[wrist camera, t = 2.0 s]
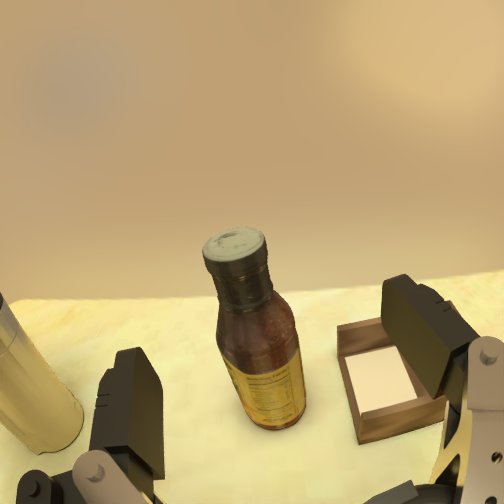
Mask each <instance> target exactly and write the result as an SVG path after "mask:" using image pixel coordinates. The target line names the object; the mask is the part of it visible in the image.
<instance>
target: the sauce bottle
mask: <svg viewBox="0 0 504 504" xmlns="http://www.w3.org/2000/svg"><path fill="white" fill-rule="evenodd" d="M202 253H203V258H204V261H205V266H206V268H207V270H208V272H209V273H210V274H211V275H212V277H213V280H214V284H215V287H216V290H217V293H218V296H217V298H218V300H219V312H218V321H217V330H216V341H217V345H218V348H219V350H220V353H221V355H222V358H223V360H224V362H225V365H226V367H227V369H228V372H229V374H230V377H231V379H232V382H233V384H234V386H235V389H236V391H237V393H238V395H239V398H240V400H241V402H242V405H243V407H244V409H245V411H246V413H247V414H248V416H249V417H250V419H251V420H253V421H254V422H255V423H256V424H258V425H259V426H262V427H264V428H266V429H281V428H286V427H288V426H290V425H293V424H294V423H296V421H297V420H298V419H299V418H300V417H301V415H302V413H303V411H304V409H305V406H306V399H305V398H306V390H305V382H304V374H303V367H302V360H301V352H300V345H299V339H298V334H297V331H296V328H295V320H294V316H293V313H292V310H291V308H290V306H289V305H288V303H287V302H286V301H285V300H284V299H283V298H282V297H281V296H280V295H279V294H278V293H277V292H276V291H275V290H273V284H272V281H271V280H270V275H269V270H268V265H267V256H268V251H267V244H266V241H265V237H264V235H263V233H262V232H260V231H258V230H256V229H254V228H250V227H237V228H232V229H227V230H225V231H222V232H220V233H218V234H216V235H215V236H213V237H211V238H210V239H209V240H208V241H207V242H205V244H204V246H203V249H202Z"/></svg>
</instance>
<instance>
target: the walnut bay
mask: <svg viewBox="0 0 504 504" xmlns="http://www.w3.org/2000/svg"><path fill="white" fill-rule="evenodd" d="M446 302H447V303H448V304H449V305H450V306H451V307H452V309H454V310H455V311H456V312H457V313H458V314H459V312H458V311H457V309H456V308H455V306H454V305H453V304H452V302H451V301H450V300H449V301H446ZM459 315H460V314H459ZM460 316H461V315H460ZM337 357H338V361H339V365H340V369H341V373H342V376H343V380H344V384H345V388H346V392H347V396H348V400H349V405H350V409H351V413H352V417H353V421H354V426H355V430H356V434H357V439H358V443H359V445H361V444H366V443H370V442H374V441H378V440H382V439H386V438H389V437H393V436H397V435H400V434H404V433H407V432H410V431H414V430H417V429H420V428H423V427H426V426H429V425H432V424H435V423H438V422H441V421H443V420H444V417H445V409H446V403H447V401H448V399H447V398H446V396H445V395H442V396H441V397H439V398H437V399H435V400H433V399H432V398H431V396H430V395H429V393H428V392H427V390H426V389H425V388H424V386H423V385H422V383H421V382H420V380H419V379H418V377H417V376H416V374H415V373H414V372H413V370H412V369H411V367H410V366H409V364H408V363H407V361H406V360H405V359H404V357H403V356H402V354H401V353H400V352H399V350H398V349H397V347H396V346H395V345H394V343H393V342H392V340H391V339H390V338H389V336H388V335H387V334H386V332H385V330H384V328H383V325H382V322H381V317H378V318H374V319H369V320H364V321H359V322H354V323H349V324H344V325H339V326H337Z"/></svg>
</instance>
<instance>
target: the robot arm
mask: <svg viewBox="0 0 504 504" xmlns="http://www.w3.org/2000/svg"><path fill="white" fill-rule="evenodd" d="M381 322H382V325H383V328H384V330H385V332H386V334H387V335H388V336H389V338H390V339H391V340H392V342H393V343H394V345H395V346H396V347H397V349H398V350H399V352H400V353H401V354H402V356H403V357H404V359H405V360H406V361H407V363H408V364H409V366H410V367H411V369H412V370H413V372H414V373H415V374H416V376H417V377H418V379H419V380H420V382H421V383H422V385H423V386H424V388H425V389H426V390H427V392H428V393H429V395H430V396H431V398H432V399H433V400H435V399H437V398H439V397H441V396H442V395H445V396H446V398H447V399H448V401H447V403H446V409H445V417H444V425H443V431H442V438H441V444H440V450H439V454H438V457H437V460H436V463H435V465H434V468H433V470H432V474H431V477H430V481H429V484H423V485H416V486H414V485H413V483H412V481H411V480H409V481H407V482H405V483H403V484H401V485H399V486H397V487H394V488H392V489H390V490H388V491H385V492H383V493H381V494H378V495H376V496H374V497H372V498H371V499H369V500H368V501H367V502H365V503H364V504H504V343H503V342H502V341H500V340H499V339H497V338H494V337H490V336H484V337H480V336H479V335H478V334H477V333H476V332H475V330H474V329H473V328H472V327H471V326H470V325H469V324H468V323H467V322H466V321H465V320H464V319H463V318H462V317H461V316H460V315H459V314H458V313H457V312H456V311H455V310H454V309H452V307H451V306H450V305H449V304H448V303H447V302H446V301H444V299H443V298H442V297H441V296H440V295H439V294H438V293H437V292H436V291H435V290H434V289H432V288H430V287H428V286H426V285H424V284H419V285H417V284H416V283H415V282H414V281H413V280H412V279H411V278H410V277H409V276H408V275H406V274H402V275H399V276H396V277H393V278H390V279H387V280H385V281H384V282H383V286H382V303H381ZM97 396H98V398H97V399H96V405H95V407H96V409H95V411H94V417H93V424H92V430H91V438H90V445H89V451H88V452H86V453H84V454H82V455H81V456H80V457H79V458H78V459H77V461H76V462H75V464H74V466H73V470H70V471H67V472H64V473H62V474H58V475H55V476H52V477H50V476H48V475H47V474H45V473H44V472H42V471H40V470H31V471H28V472H27V473H25V474H24V475H23V476H22V478H21V479H20V481H19V484H18V488H17V496H16V504H166V503H165V502H164V501H163V500H162V499H161V498H160V497H159V496H158V495H157V493H156V492H155V491H154V488H153V480H162V479H165V469H164V438H163V389H162V385H161V381H160V379H159V377H158V375H157V373H156V372H155V370H154V368H153V367H152V365H151V363H150V362H149V360H148V358H147V356H146V355H145V353H144V351H143V350H142V348H140V347H135V348H131V349H126V350H121V351H118V352H117V353H116V357H115V363H114V368H111V369H107V371H106V372H105V374H104V375H103V377H102V379H101V380H100V382H99V388H98V393H97ZM0 422H1V423H2V424H3V425H4V426H5V427H6V428H7V429H8V430H9V431H10V432H11V433H12V434H13V435H15V436H16V437H17V438H18V439H19V440H20V441H21V442H22V443H24V444H25V445H26V446H27V447H28V448H30V449H31V450H32V451H33V452H34V453H36V454H37V455H38V454H40V453H42V452H55V451H59V450H61V449H63V448H65V447H66V446H68V445H69V444H70V443H71V442H72V441H73V440H74V439H75V438H76V436H77V435H78V433H79V431H80V429H81V427H82V423H83V409H82V407H81V405H80V403H79V402H78V401H77V400H76V398H75V397H74V396H73V394H72V393H71V392H70V391H69V390H68V389H67V388H66V387H65V385H64V384H63V383H62V382H61V380H60V379H59V378H58V377H57V375H56V374H55V373H54V372H53V370H52V369H51V368H50V366H49V365H48V364H47V362H46V361H45V360H44V358H43V357H42V356H41V354H40V353H39V352H38V350H37V349H36V347H35V346H34V345H33V343H32V342H31V340H30V339H29V337H28V336H27V334H26V333H25V331H24V330H23V328H22V327H21V325H20V324H19V322H18V321H17V319H16V318H15V316H14V314H13V313H12V311H11V310H10V308H9V306H8V305H7V303H6V301H5V300H4V298H3V297H2V294H1V293H0Z"/></svg>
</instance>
